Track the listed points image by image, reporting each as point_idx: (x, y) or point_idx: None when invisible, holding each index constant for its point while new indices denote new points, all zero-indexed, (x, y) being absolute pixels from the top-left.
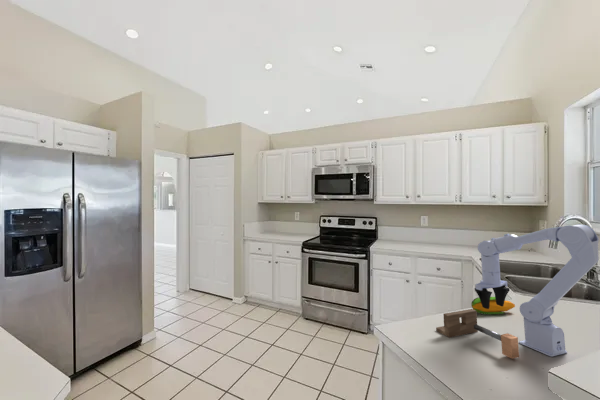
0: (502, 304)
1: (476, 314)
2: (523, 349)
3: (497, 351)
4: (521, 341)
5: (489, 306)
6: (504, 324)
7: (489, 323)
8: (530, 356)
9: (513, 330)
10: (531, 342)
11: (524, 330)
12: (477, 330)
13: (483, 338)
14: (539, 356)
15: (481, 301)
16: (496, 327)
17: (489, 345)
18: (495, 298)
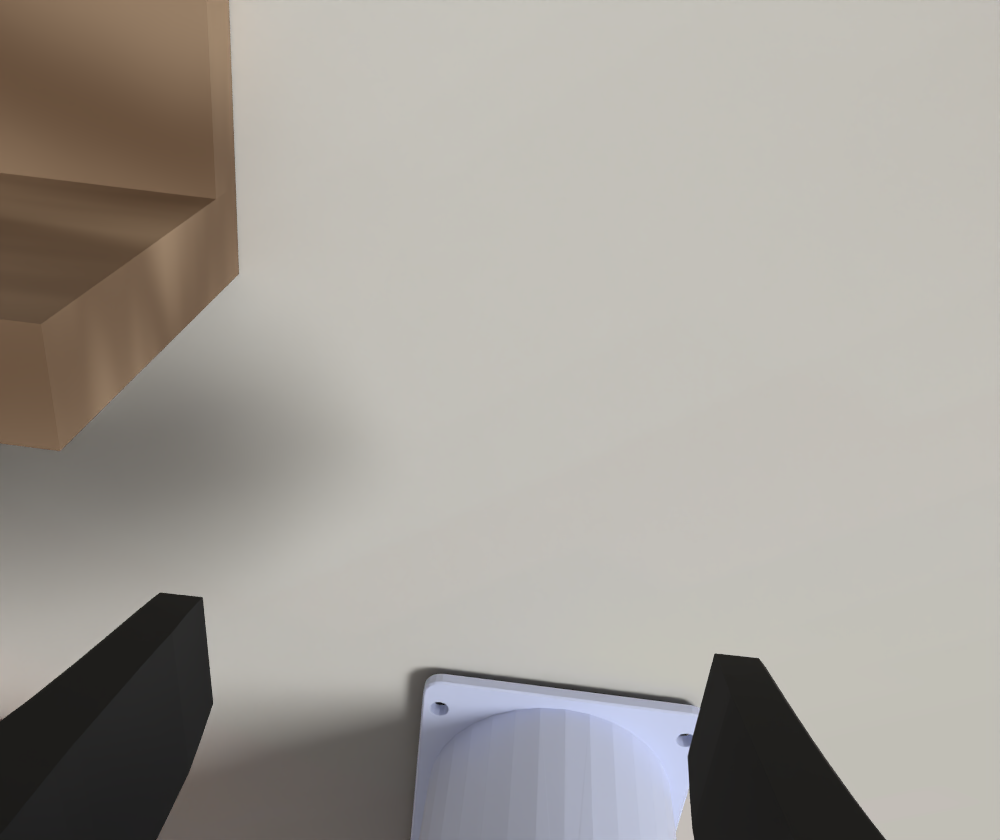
0: (692, 810)
1: (103, 404)
2: (332, 735)
3: (20, 650)
4: (460, 696)
5: (187, 768)
6: (975, 302)
7: (792, 150)
8: (253, 804)
9: (809, 481)
10: (422, 821)
11: (479, 838)
12: (227, 281)
13: (134, 431)
14: (333, 833)
15: (57, 702)
16: (704, 310)
17: (47, 556)
18: (761, 768)
